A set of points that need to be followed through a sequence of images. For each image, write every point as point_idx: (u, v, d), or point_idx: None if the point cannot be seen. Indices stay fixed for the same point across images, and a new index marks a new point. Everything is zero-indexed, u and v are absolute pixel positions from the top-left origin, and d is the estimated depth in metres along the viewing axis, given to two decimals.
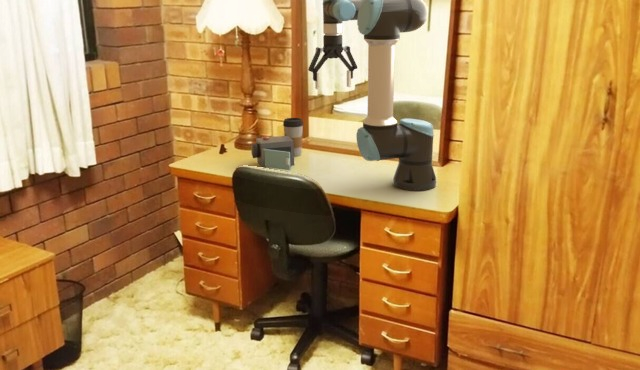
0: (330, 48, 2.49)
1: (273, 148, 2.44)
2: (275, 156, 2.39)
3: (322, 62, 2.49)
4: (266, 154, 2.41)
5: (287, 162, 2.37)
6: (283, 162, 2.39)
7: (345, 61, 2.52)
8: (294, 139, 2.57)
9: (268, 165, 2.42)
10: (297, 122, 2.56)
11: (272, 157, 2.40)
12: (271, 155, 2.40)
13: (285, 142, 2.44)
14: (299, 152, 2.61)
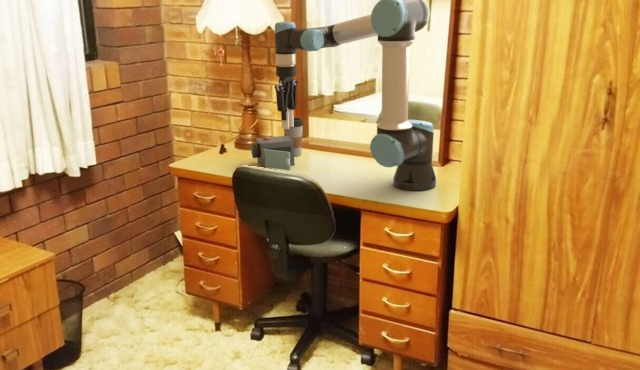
0: (286, 78, 2.30)
1: (273, 148, 2.44)
2: (275, 156, 2.39)
3: (286, 98, 2.32)
4: (266, 154, 2.41)
5: (287, 162, 2.37)
6: (283, 162, 2.39)
7: (292, 96, 2.36)
8: (294, 139, 2.57)
9: (268, 165, 2.42)
10: (297, 122, 2.56)
11: (272, 157, 2.40)
12: (271, 155, 2.40)
13: (285, 142, 2.44)
14: (299, 152, 2.61)
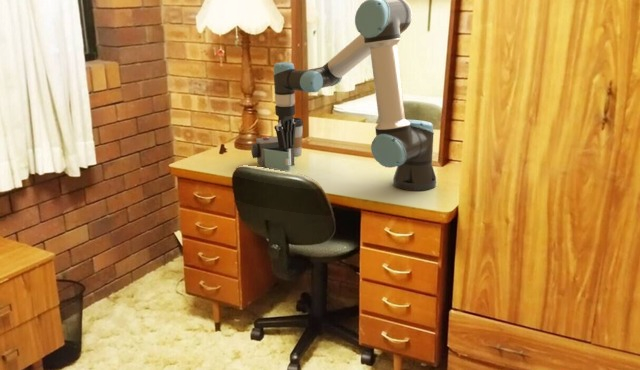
0: (285, 117, 2.33)
1: (273, 148, 2.44)
2: (275, 156, 2.39)
3: (287, 136, 2.37)
4: (266, 154, 2.41)
5: (286, 162, 2.37)
6: (282, 162, 2.38)
7: (290, 135, 2.39)
8: (294, 139, 2.57)
9: (268, 165, 2.42)
10: (297, 122, 2.56)
11: (272, 157, 2.40)
12: (271, 155, 2.40)
13: None
14: (299, 152, 2.61)
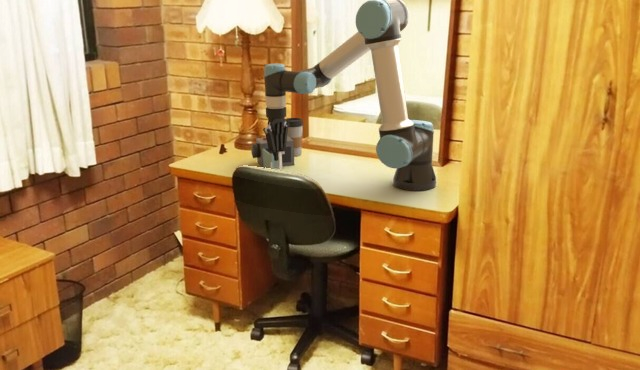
0: (275, 119, 2.29)
1: None
2: (267, 158, 2.37)
3: (277, 139, 2.32)
4: (263, 154, 2.40)
5: (270, 166, 2.33)
6: (270, 165, 2.35)
7: (281, 138, 2.34)
8: (294, 139, 2.57)
9: (264, 166, 2.41)
10: (297, 122, 2.56)
11: (265, 158, 2.38)
12: (265, 156, 2.39)
13: None
14: (299, 152, 2.61)
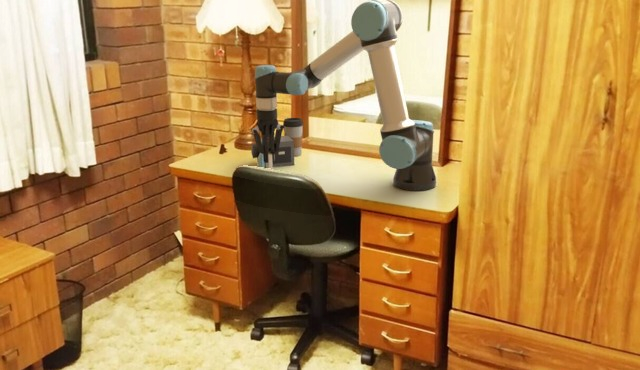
0: (263, 121, 2.27)
1: None
2: None
3: (266, 141, 2.30)
4: None
5: (257, 166, 2.32)
6: None
7: (272, 140, 2.31)
8: (294, 139, 2.57)
9: None
10: (297, 122, 2.56)
11: None
12: None
13: (285, 142, 2.44)
14: (299, 152, 2.61)
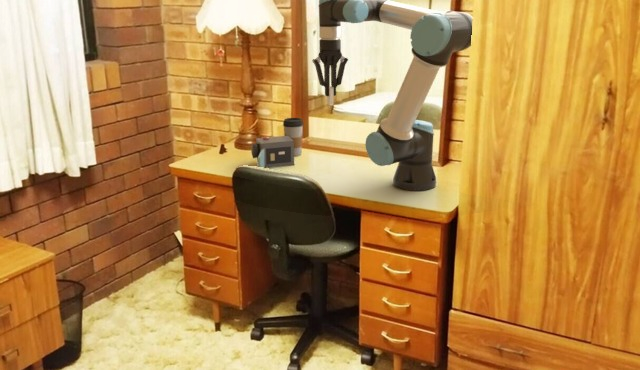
0: (325, 51, 2.21)
1: (273, 148, 2.44)
2: None
3: (327, 73, 2.23)
4: None
5: (257, 166, 2.32)
6: None
7: (334, 73, 2.24)
8: (294, 139, 2.57)
9: None
10: (297, 122, 2.56)
11: None
12: None
13: (285, 142, 2.44)
14: (299, 152, 2.61)
